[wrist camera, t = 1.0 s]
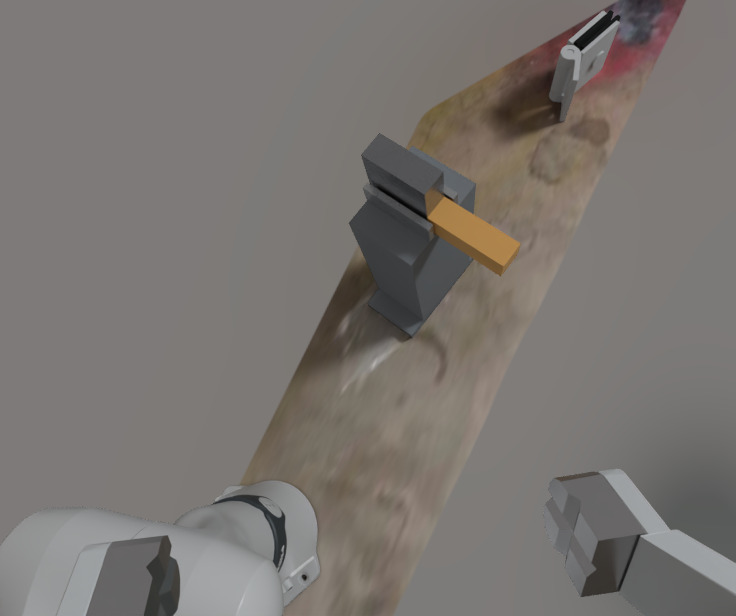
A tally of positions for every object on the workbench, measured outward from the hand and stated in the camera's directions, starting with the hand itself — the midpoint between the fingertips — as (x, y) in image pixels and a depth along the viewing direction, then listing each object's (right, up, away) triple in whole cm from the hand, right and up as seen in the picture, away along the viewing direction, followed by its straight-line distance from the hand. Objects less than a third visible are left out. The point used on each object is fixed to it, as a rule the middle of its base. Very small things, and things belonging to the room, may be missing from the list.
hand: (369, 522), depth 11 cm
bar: (+8, +14, +45) cm, 48 cm away
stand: (+9, +9, +71) cm, 72 cm away
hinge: (+36, +42, +76) cm, 94 cm away
